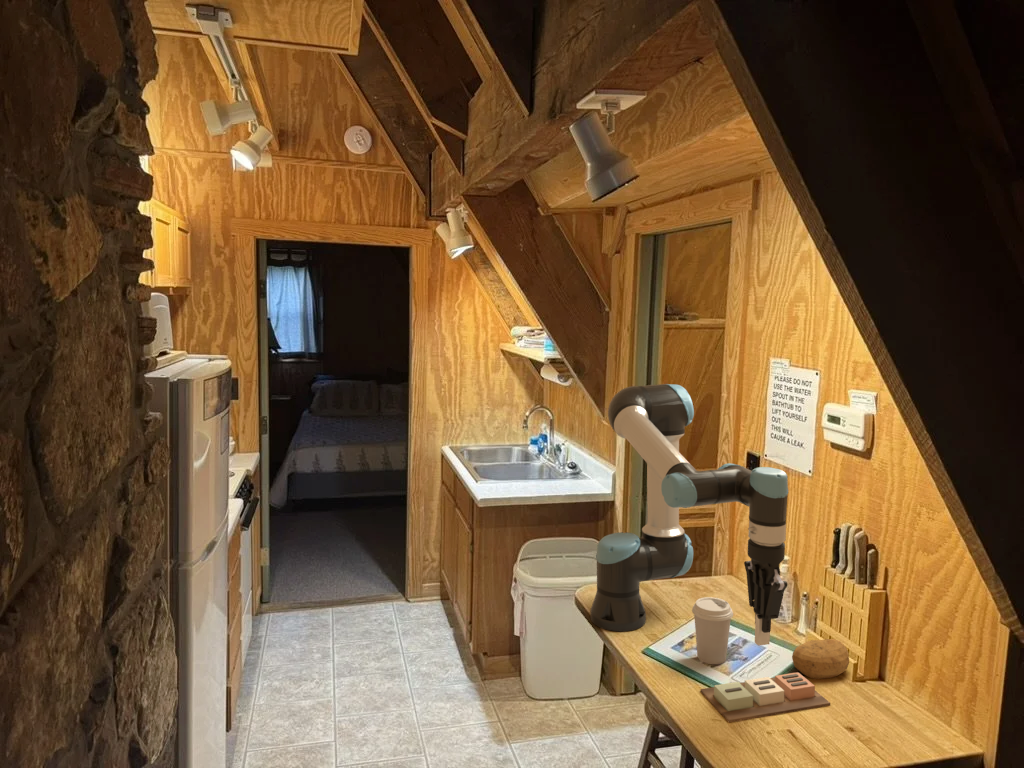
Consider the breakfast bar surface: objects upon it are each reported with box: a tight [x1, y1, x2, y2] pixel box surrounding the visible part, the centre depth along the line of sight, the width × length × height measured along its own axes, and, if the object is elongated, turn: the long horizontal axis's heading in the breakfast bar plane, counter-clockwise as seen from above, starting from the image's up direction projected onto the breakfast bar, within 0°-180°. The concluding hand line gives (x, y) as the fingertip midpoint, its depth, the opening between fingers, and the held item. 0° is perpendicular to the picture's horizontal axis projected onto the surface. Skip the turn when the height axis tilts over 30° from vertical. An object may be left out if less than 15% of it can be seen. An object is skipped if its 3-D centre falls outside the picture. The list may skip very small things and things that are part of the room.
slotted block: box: [713, 681, 753, 711], centre depth 153 cm, size 6×6×4 cm
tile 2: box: [744, 676, 784, 706], centre depth 154 cm, size 6×6×4 cm
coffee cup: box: [691, 596, 734, 665], centre depth 172 cm, size 10×10×15 cm
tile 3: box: [774, 671, 816, 701], centre depth 156 cm, size 6×6×4 cm
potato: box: [791, 638, 850, 679], centre depth 165 cm, size 10×14×8 cm
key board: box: [699, 677, 831, 723], centre depth 154 cm, size 12×24×2 cm, turn 103°
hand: (761, 643), depth 156 cm, fingers closed
